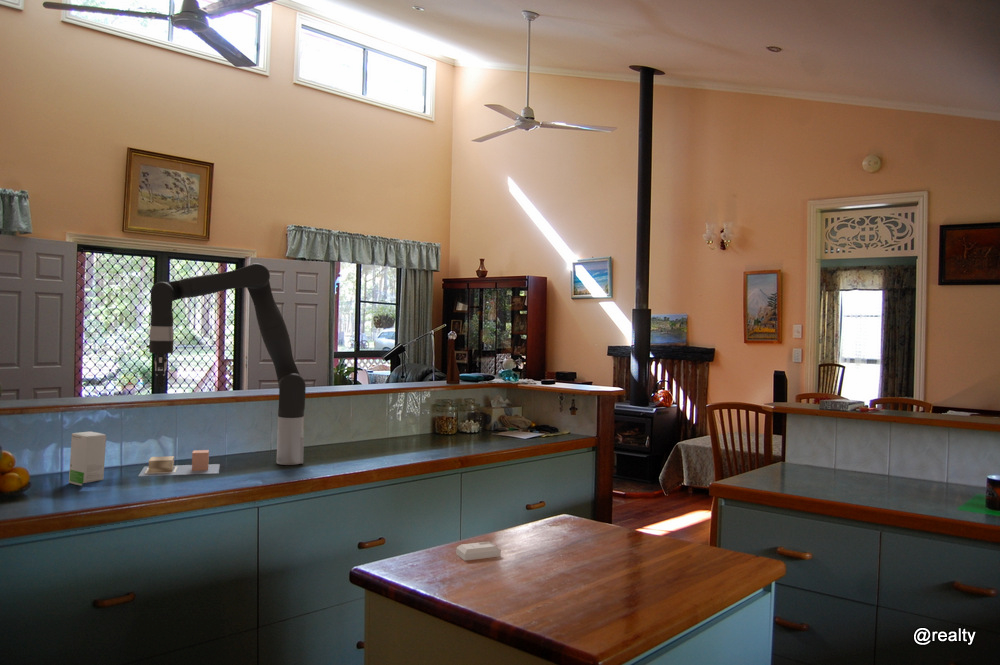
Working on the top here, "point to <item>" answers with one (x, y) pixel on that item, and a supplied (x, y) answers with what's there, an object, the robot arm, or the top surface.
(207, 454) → the terracotta block
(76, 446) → the skincare box
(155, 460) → the beech base block
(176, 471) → the board
